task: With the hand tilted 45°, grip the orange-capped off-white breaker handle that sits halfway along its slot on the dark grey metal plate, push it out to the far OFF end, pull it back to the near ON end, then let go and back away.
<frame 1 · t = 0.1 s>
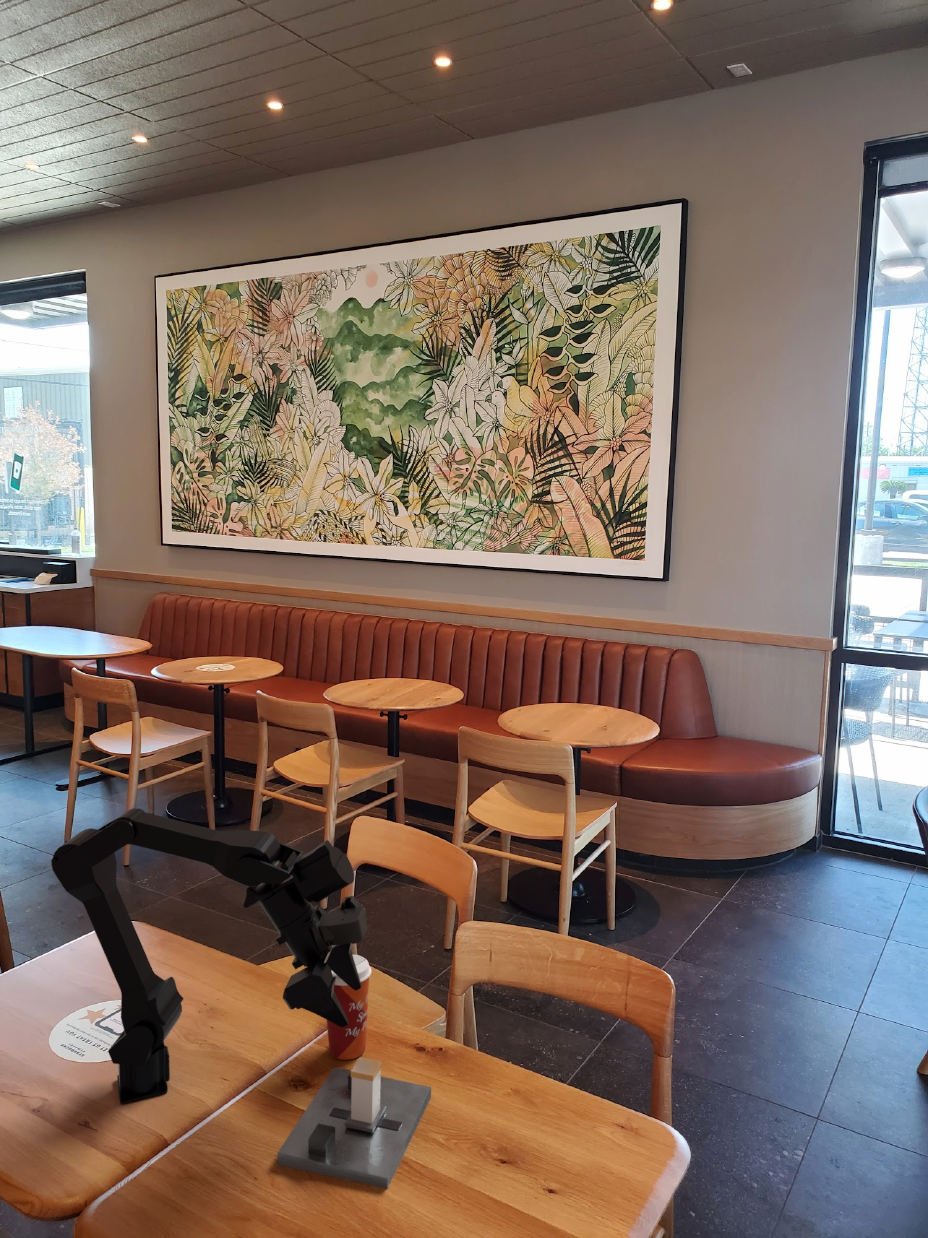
hand: (352, 1006, 124), 14 cm above the table, tool tilted 35°, fingers open, 9 cm apart
paper cup: (347, 1050, 138), on the table
breaker handle: (366, 1092, 119), point 6 cm above the table, slide at 0.0 cm
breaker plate: (365, 1133, 120), on the table
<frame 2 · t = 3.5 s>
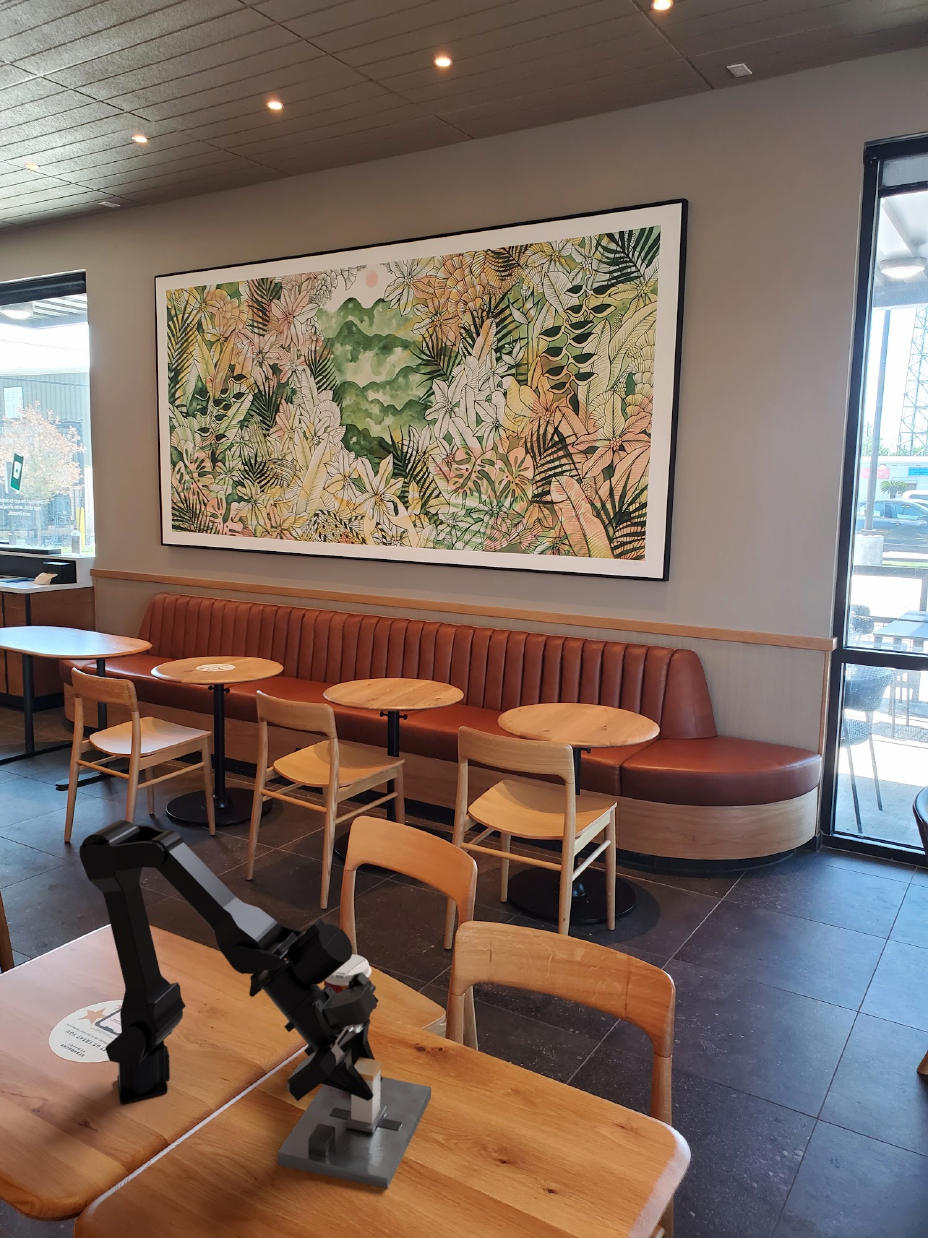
hand: (375, 1090, 118), 7 cm above the table, tool tilted 45°, fingers closed on breaker handle, 3 cm apart
breaker handle: (366, 1092, 119), point 6 cm above the table, slide at 0.0 cm, touching gripper
everything else where it was.
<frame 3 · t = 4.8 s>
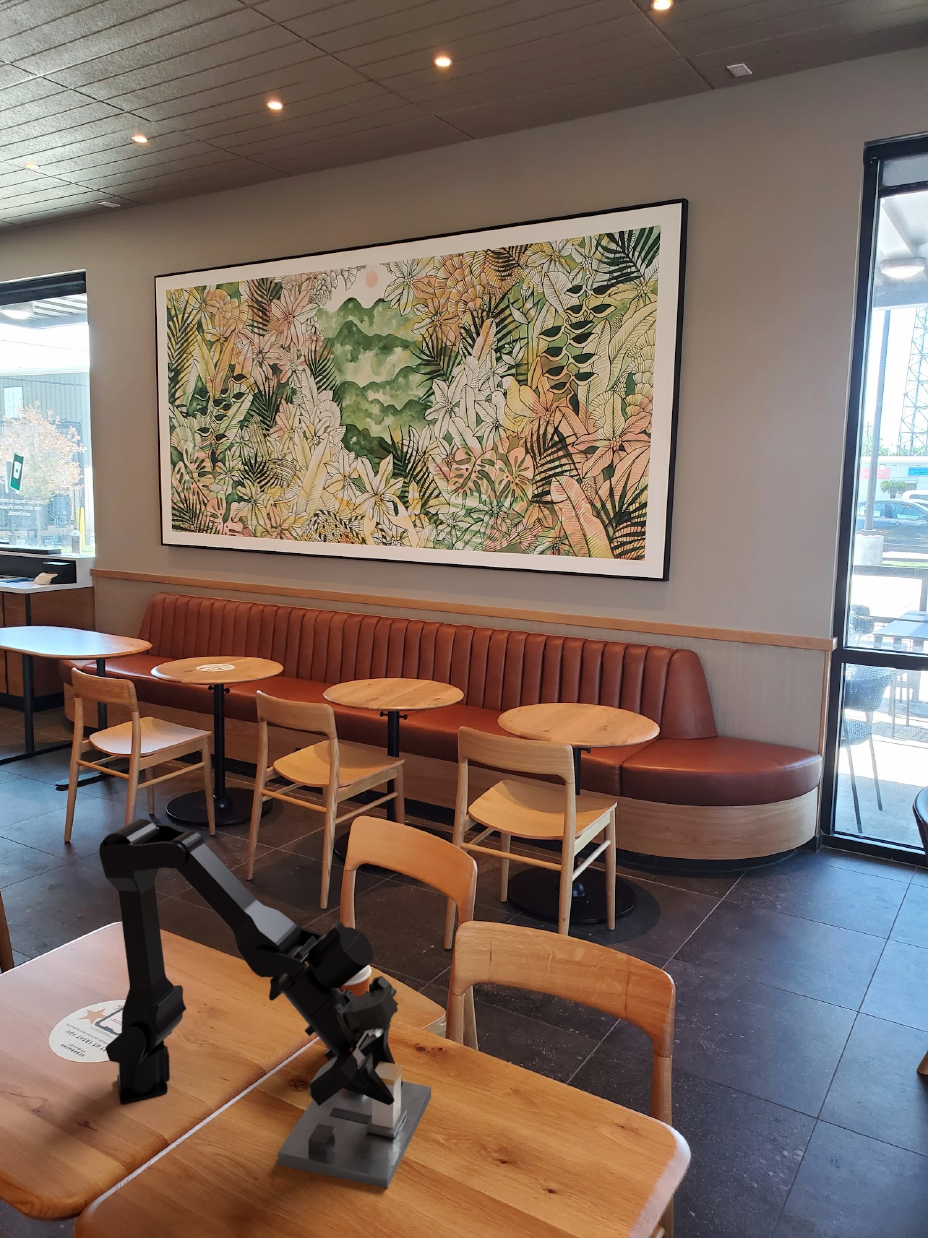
hand: (396, 1095, 118), 7 cm above the table, tool tilted 45°, fingers closed on breaker handle, 3 cm apart
breaker handle: (386, 1096, 118), point 6 cm above the table, slide at 3.0 cm, touching gripper
everything else where it was.
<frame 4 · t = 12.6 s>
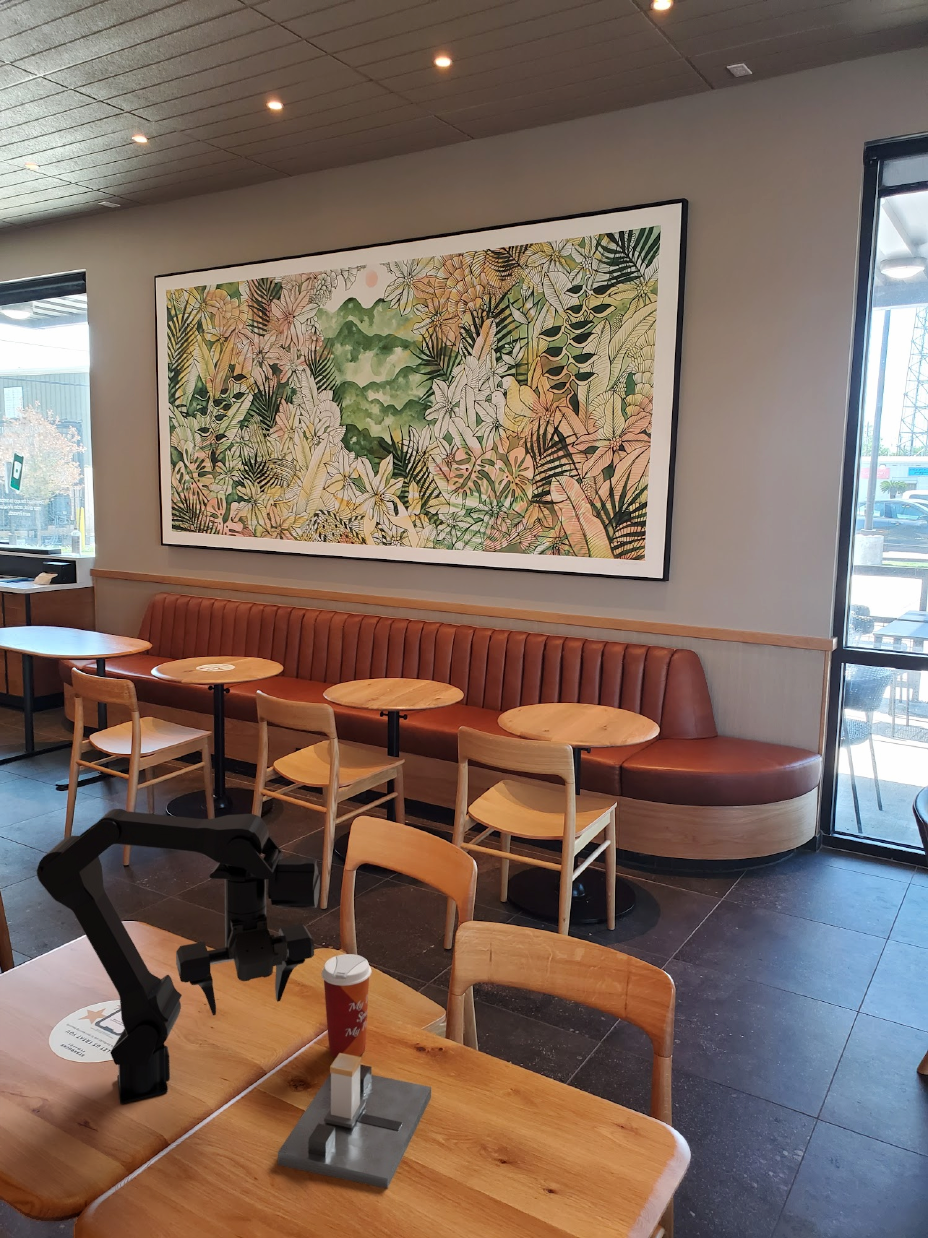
hand: (246, 1007, 127), 12 cm above the table, tool pointing down, fingers open, 9 cm apart
breaker handle: (345, 1087, 120), point 6 cm above the table, slide at -3.0 cm
everything else where it was.
at the end: breaker handle slide at -3.0 cm; the gripper is holding nothing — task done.
